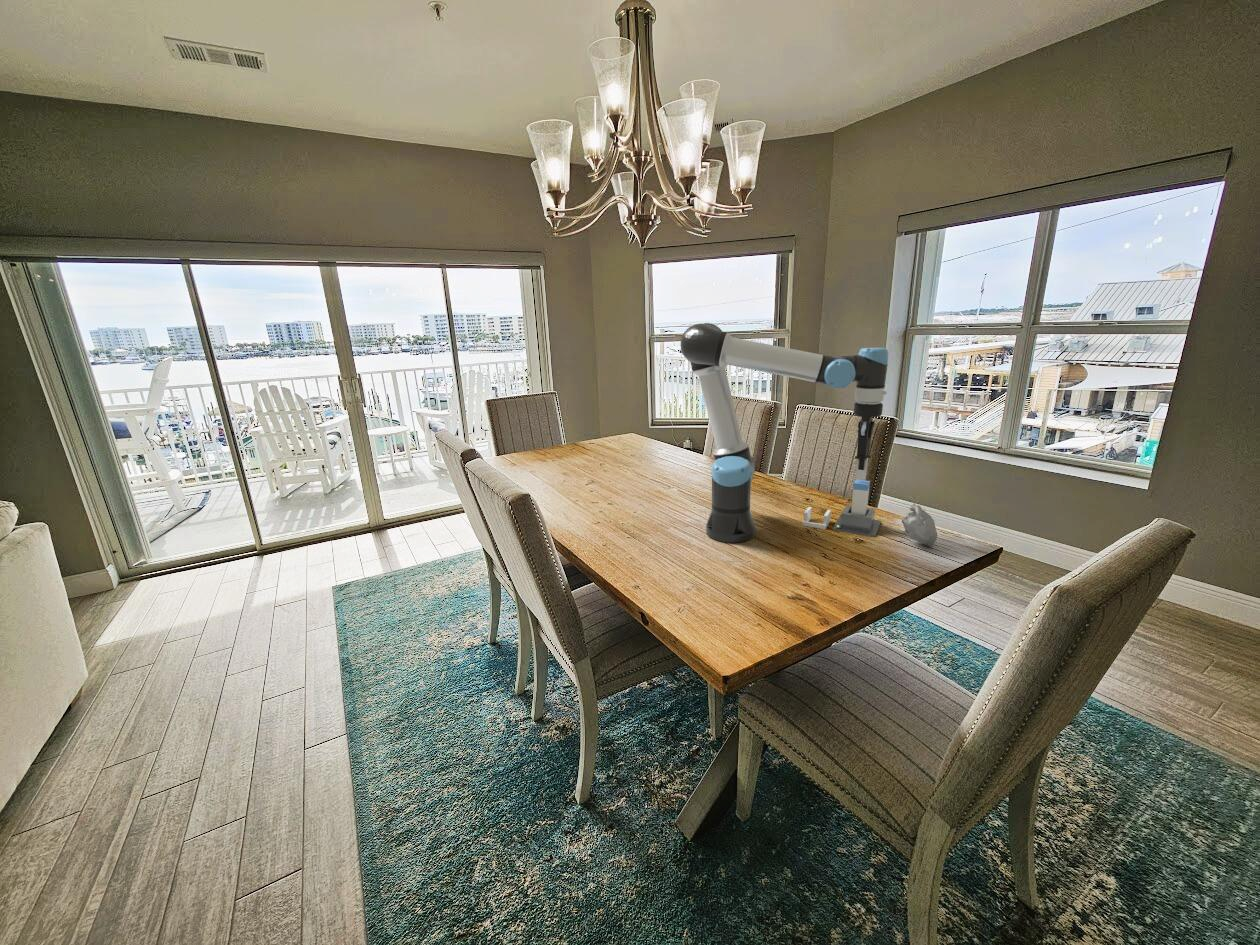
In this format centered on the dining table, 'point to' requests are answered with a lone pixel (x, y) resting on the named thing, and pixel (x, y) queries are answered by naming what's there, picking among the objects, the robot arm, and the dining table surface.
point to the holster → (822, 526)
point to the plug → (860, 497)
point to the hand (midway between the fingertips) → (860, 478)
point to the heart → (920, 526)
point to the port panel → (857, 522)
